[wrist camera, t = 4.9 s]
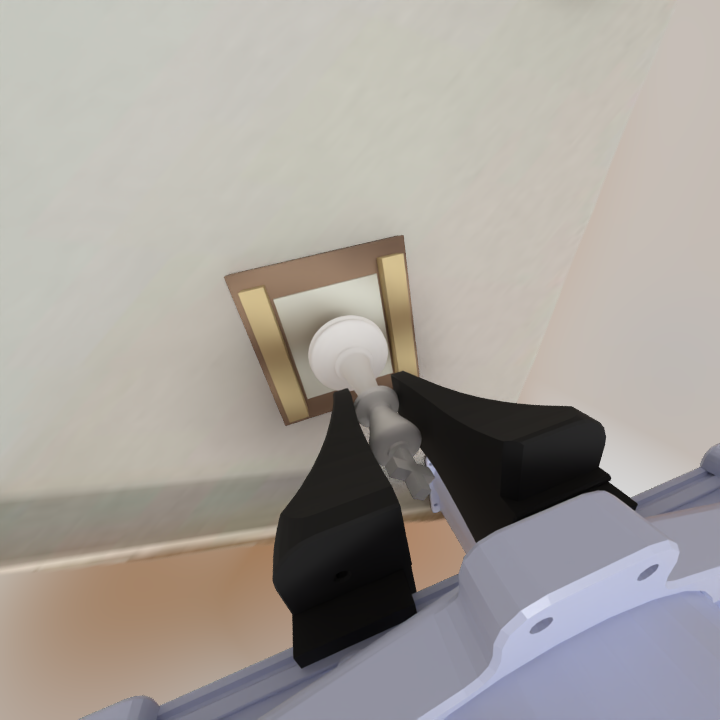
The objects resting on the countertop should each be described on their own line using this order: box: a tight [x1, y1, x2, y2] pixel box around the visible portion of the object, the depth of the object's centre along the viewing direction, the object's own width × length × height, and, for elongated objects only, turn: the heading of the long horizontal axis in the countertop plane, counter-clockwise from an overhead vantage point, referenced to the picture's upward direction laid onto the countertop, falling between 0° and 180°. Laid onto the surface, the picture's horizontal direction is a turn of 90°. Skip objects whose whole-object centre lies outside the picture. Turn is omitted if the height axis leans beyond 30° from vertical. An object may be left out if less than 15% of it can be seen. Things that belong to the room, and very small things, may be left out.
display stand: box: [224, 235, 419, 426], centre depth 20 cm, size 12×12×2 cm
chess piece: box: [308, 315, 435, 500], centre depth 12 cm, size 5×5×10 cm
